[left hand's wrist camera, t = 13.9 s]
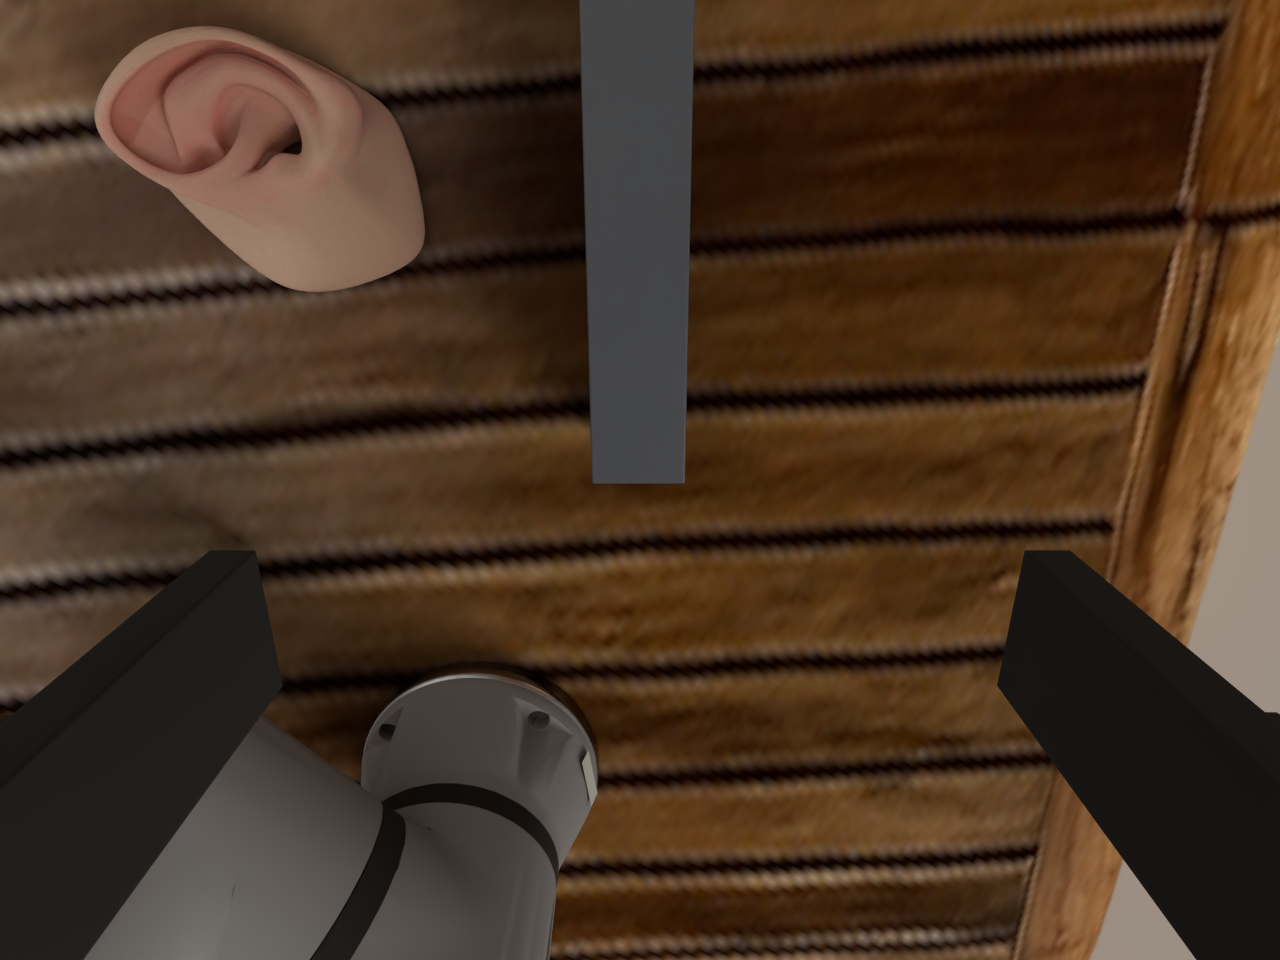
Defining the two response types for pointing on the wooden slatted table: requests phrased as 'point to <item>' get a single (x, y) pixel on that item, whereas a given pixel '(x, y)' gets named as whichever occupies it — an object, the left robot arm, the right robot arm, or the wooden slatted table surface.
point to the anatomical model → (268, 155)
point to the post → (637, 232)
